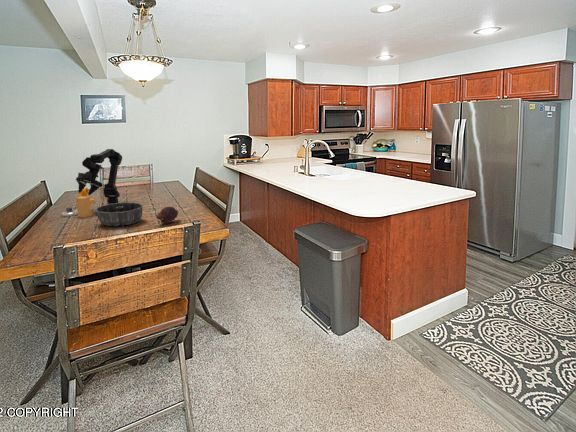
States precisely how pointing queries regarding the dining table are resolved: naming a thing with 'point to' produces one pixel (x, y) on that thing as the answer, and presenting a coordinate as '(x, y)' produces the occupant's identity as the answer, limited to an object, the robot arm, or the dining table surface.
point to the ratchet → (70, 212)
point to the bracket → (85, 193)
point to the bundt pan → (119, 213)
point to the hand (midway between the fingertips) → (84, 193)
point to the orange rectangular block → (83, 206)
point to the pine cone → (167, 215)
